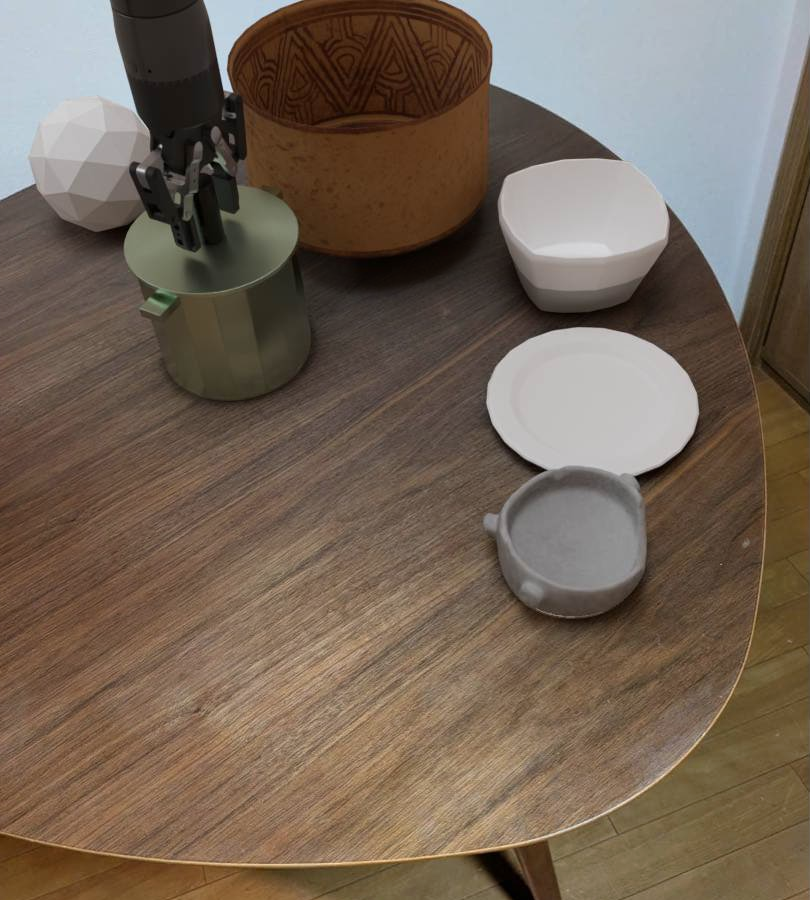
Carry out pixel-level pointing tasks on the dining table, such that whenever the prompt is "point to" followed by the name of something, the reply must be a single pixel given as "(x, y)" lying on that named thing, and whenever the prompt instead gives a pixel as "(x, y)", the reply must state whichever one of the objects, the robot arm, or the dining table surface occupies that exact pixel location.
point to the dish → (572, 540)
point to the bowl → (582, 231)
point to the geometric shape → (90, 162)
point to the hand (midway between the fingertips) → (210, 228)
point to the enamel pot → (234, 335)
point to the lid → (215, 245)
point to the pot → (367, 120)
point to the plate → (592, 401)
